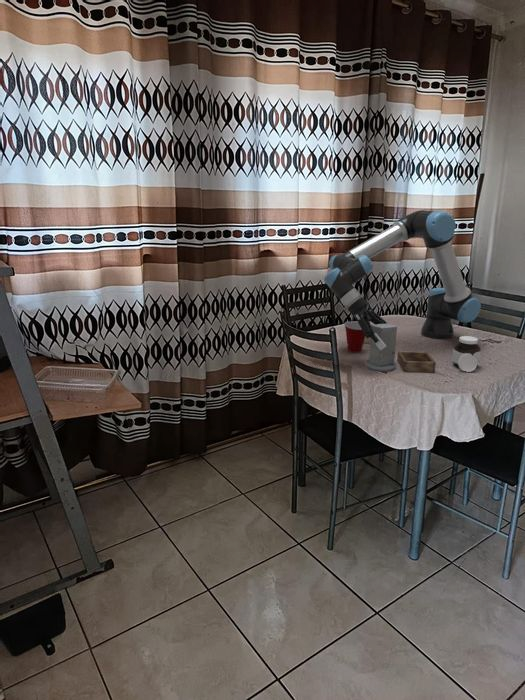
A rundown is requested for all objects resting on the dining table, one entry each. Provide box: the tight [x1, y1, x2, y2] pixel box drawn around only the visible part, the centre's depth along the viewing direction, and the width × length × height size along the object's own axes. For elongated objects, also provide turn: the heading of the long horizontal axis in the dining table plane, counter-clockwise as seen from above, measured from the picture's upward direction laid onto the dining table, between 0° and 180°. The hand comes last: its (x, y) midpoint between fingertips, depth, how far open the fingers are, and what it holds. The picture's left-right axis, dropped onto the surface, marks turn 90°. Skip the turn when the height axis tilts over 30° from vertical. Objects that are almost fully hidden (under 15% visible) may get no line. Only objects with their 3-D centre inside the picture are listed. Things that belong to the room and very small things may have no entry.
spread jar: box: [451, 335, 482, 373], centre depth 195 cm, size 12×11×12 cm
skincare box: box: [368, 323, 398, 367], centre depth 195 cm, size 8×7×16 cm
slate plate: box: [365, 359, 397, 372], centre depth 197 cm, size 12×12×1 cm
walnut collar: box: [396, 351, 437, 373], centre depth 197 cm, size 12×13×4 cm
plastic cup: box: [344, 321, 365, 353], centre depth 215 cm, size 11×11×12 cm
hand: (388, 343), depth 193 cm, fingers open, 13 cm apart
